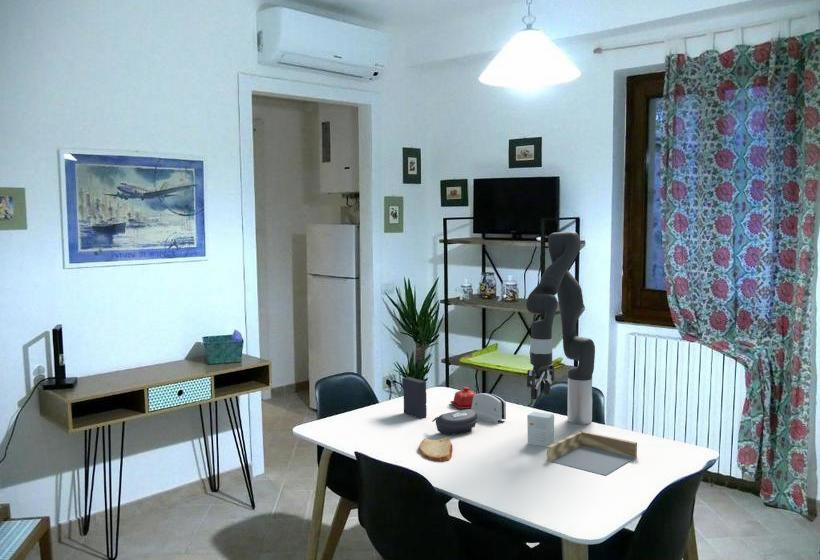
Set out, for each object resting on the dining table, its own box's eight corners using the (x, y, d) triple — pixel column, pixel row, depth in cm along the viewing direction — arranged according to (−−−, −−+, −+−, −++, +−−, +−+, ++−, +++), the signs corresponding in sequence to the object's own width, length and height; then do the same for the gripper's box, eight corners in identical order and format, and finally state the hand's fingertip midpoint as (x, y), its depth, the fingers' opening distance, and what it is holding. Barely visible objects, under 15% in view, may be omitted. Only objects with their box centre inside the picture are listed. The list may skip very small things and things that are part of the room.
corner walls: (580, 444, 241) (580, 430, 240) (636, 457, 227) (637, 442, 227) (546, 461, 224) (547, 446, 224) (605, 476, 210) (606, 460, 210)
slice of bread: (442, 466, 222) (442, 454, 221) (401, 454, 234) (401, 443, 234) (476, 452, 235) (476, 441, 235) (435, 441, 247) (435, 431, 247)
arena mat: (582, 446, 239) (582, 445, 239) (634, 458, 226) (634, 457, 226) (551, 462, 223) (551, 461, 223) (605, 476, 210) (605, 475, 210)
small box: (554, 443, 242) (554, 414, 242) (548, 447, 238) (549, 418, 237) (533, 439, 247) (533, 411, 246) (527, 444, 242) (527, 414, 241)
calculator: (427, 418, 275) (427, 381, 274) (419, 419, 273) (419, 382, 272) (410, 412, 284) (410, 376, 283) (402, 414, 281) (402, 377, 280)
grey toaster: (468, 414, 280) (470, 390, 279) (476, 414, 282) (478, 389, 282) (497, 424, 266) (499, 398, 266) (506, 423, 269) (508, 397, 269)
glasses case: (445, 440, 247) (445, 418, 247) (428, 432, 256) (428, 412, 255) (483, 431, 257) (483, 410, 257) (465, 424, 266) (465, 404, 266)
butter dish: (484, 408, 289) (484, 388, 288) (458, 411, 286) (458, 391, 285) (473, 402, 300) (473, 382, 299) (448, 404, 297) (448, 384, 296)
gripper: (542, 347, 247) (542, 391, 249) (520, 352, 237) (520, 398, 238) (561, 349, 242) (560, 394, 244) (539, 355, 232) (539, 402, 233)
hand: (540, 396), depth 241 cm, fingers open, 8 cm apart
